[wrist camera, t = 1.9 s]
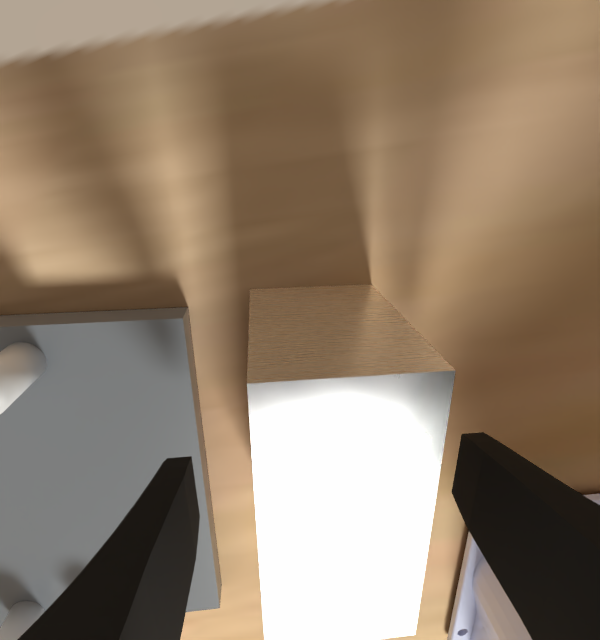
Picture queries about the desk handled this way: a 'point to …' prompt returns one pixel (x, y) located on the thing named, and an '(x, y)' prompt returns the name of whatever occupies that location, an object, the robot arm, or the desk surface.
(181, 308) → the pin tray
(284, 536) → the block
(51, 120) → the desk surface
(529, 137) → the desk surface
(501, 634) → the robot arm
